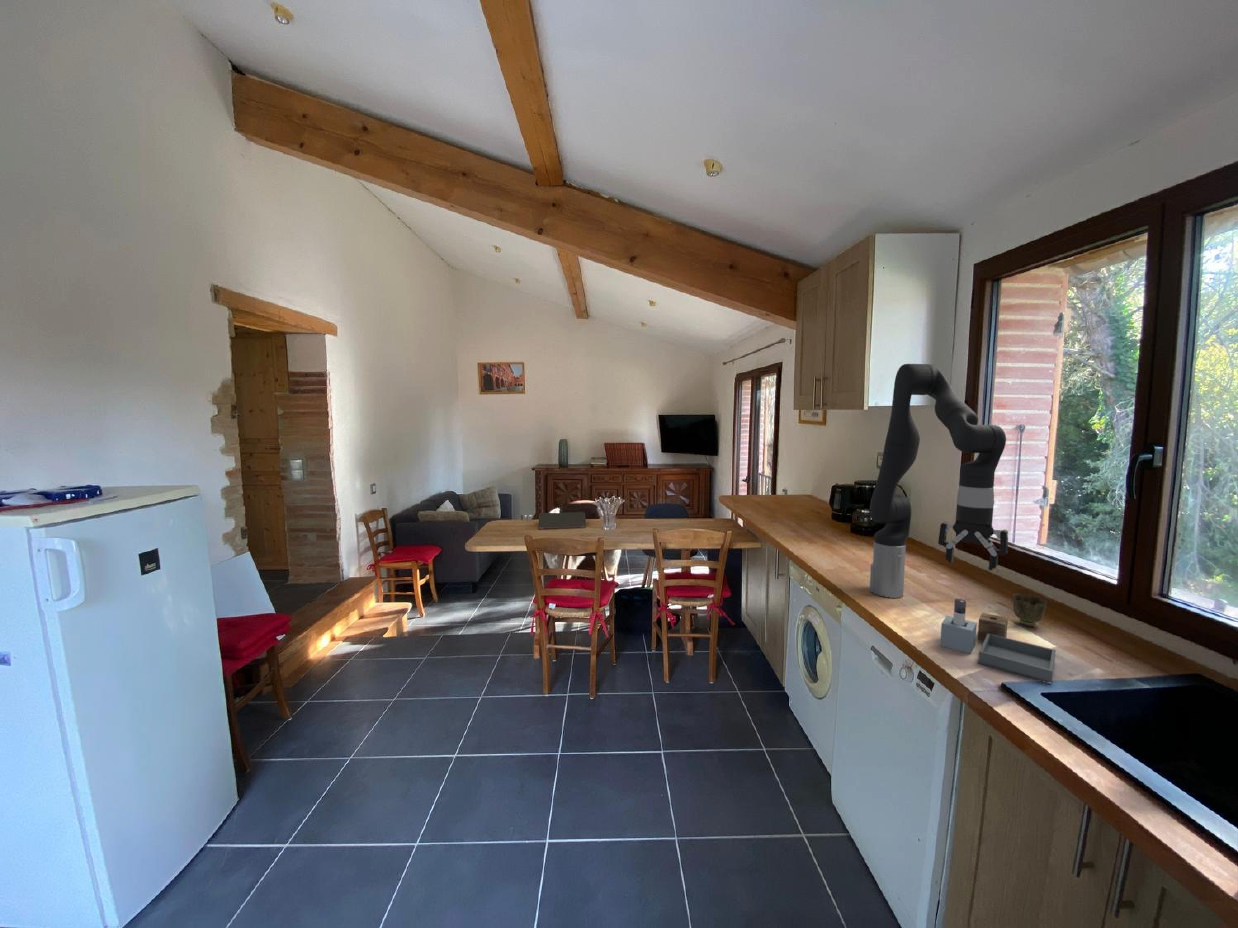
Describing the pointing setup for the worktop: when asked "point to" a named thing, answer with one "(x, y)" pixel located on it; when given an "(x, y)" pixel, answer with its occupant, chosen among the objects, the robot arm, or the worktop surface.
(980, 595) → the worktop surface
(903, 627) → the worktop surface
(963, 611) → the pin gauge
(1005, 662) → the tray
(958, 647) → the grey socket cube
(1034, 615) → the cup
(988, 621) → the walnut block
